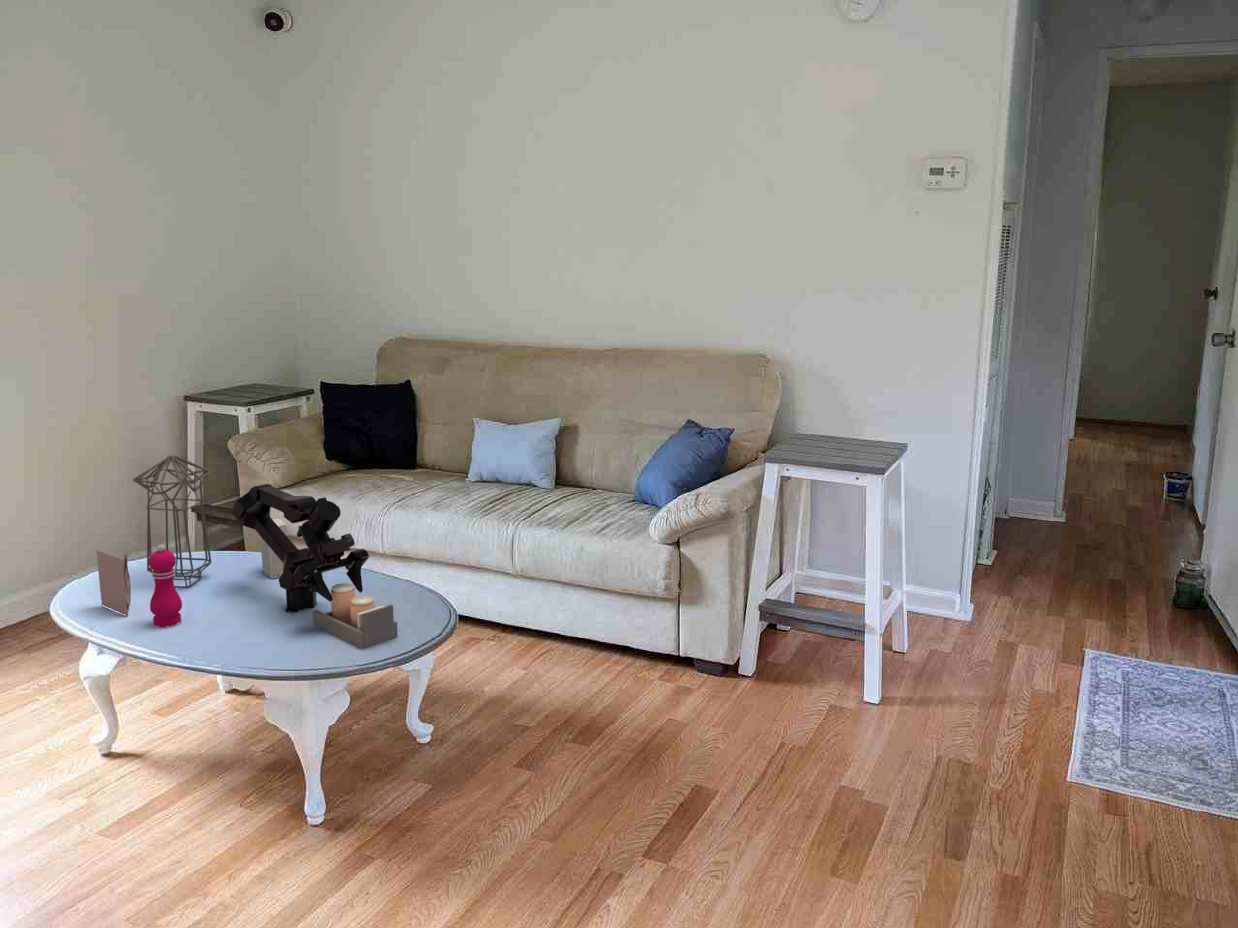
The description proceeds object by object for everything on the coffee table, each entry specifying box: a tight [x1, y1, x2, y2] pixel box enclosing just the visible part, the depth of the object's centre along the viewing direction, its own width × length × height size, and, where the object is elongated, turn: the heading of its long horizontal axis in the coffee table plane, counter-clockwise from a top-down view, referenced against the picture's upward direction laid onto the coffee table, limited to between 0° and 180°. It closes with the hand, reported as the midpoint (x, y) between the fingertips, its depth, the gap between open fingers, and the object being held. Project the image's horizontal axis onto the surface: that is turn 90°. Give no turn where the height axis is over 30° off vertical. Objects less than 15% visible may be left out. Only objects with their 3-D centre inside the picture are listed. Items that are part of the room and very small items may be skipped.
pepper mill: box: [149, 544, 183, 628], centre depth 257 cm, size 7×7×20 cm
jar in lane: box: [350, 595, 376, 629], centre depth 252 cm, size 6×6×9 cm
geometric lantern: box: [132, 454, 214, 589], centre depth 283 cm, size 16×16×35 cm
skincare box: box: [259, 518, 288, 580], centre depth 293 cm, size 8×6×15 cm
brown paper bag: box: [95, 545, 132, 617], centre depth 265 cm, size 11×7×15 cm, turn 21°
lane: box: [312, 604, 398, 650], centre depth 254 cm, size 20×10×9 cm, turn 49°
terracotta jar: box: [330, 582, 356, 626], centre depth 257 cm, size 6×6×10 cm
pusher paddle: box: [357, 605, 385, 631], centre depth 249 cm, size 2×7×7 cm, turn 139°
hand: (346, 596), depth 255 cm, fingers open, 8 cm apart
